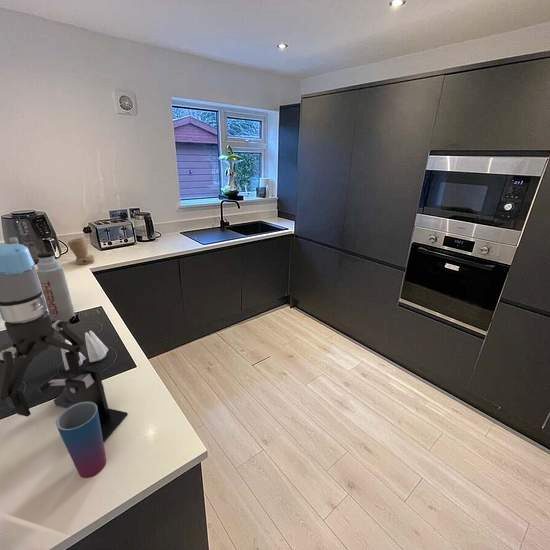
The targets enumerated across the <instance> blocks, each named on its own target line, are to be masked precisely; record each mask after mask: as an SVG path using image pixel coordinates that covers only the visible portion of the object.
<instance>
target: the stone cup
mask: <svg viewBox="0 0 550 550" xmlns="http://www.w3.org/2000/svg"><path fill="white" fill-rule="evenodd" d="M67 245H68V247H69V249H70V250H71V251H72V253H73V254H74V256H75V264H78V265H85V264H86V265H90V264H92V263H94V262H95V256H94V255H93V254H89V248H88V243H87V240H86V239H85V238H84V237H79V238H74V239H70V240H68V242H67Z"/></svg>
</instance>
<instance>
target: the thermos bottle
mask: <svg viewBox="0 0 550 550" xmlns="http://www.w3.org/2000/svg"><path fill="white" fill-rule="evenodd" d="M37 258H38V262H37V263H36V267H37V268H36V272H37V276H38V279H39V283H40V286H41V289H42V293H43V296H44V299H45V303H46V306H47V311H48V312H49V315H50V318H51V322H52V321H54V320H60V321H65V322H67V321H68V320H69V319H71V318H72V317H73V316H74V315H75V316H76V313H75V309H74V305H73V302H72V298H71V294H70V290H69V286H68V283H67V279H66V275H65V272H64V268H63V267H64V266H63V265H62V264H61V263H60V261H59V260H58V259H56V257H55V253H54V252H52V251H48V252H46V251H45V252H41V253H38V254H37ZM67 323H68V322H67Z"/></svg>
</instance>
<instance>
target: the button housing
mask: <svg viewBox="0 0 550 550" xmlns="http://www.w3.org/2000/svg"><path fill="white" fill-rule="evenodd" d="M102 385H103V383H102ZM103 386H104V385H103ZM103 389H104V390H105V387H103ZM53 403H54V405H55V407H60V408H65V409H67V408H69V407H70V406H72V404H71V400H70V397H69V394H68V391H67V388H66V385H64V387H63V390H62V393H60V394H58V396H57V397H56V398H54V399H53Z"/></svg>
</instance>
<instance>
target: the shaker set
mask: <svg viewBox="0 0 550 550" xmlns="http://www.w3.org/2000/svg"><path fill="white" fill-rule="evenodd" d="M84 339H85V345H86V351H87V355H88V356H87V357H88V361H89V363H94V362H100V361H103V360H104V359H105V358H106V356H107V354H108V351H109V349H108V347H107V346H106V345H105V344H104V342H102V340H101V339H100V338H99V337H98V336H97V335H96V334H95V333H94V332H93V331H92V330H89V332H84ZM61 341H62V340H61ZM62 342H65V343H67V344H70V345H72V343H71V342H70V341H68V340H67V339H64V341H62ZM60 352H61V357H62V363H63V366H64V370H65V371H68V370H70V369H69V366H68V362H67V359H66V356H65V353H66V352H69V351H68V350H65V349H62V348H60ZM78 353H79V357H80V361H78V362H79V365H80V367H82V365H83V362H84V361H85V360H87V358H86V356H85V355H83V354H82V352H81V351H80V352H78Z"/></svg>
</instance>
